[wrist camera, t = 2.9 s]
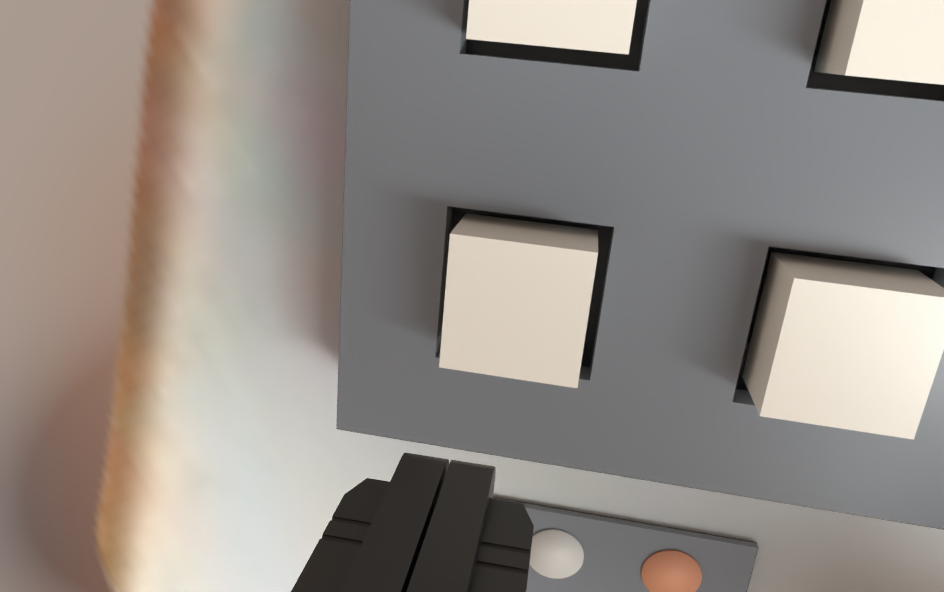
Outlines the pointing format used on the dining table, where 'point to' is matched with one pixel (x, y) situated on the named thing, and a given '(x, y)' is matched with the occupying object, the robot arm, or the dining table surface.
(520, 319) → the button
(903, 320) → the button
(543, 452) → the button box
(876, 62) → the button
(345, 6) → the dining table surface
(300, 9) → the dining table surface
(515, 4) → the button
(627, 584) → the pattern card
